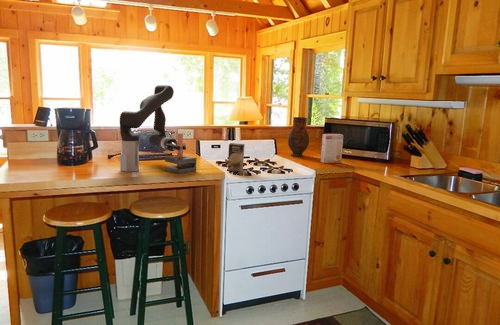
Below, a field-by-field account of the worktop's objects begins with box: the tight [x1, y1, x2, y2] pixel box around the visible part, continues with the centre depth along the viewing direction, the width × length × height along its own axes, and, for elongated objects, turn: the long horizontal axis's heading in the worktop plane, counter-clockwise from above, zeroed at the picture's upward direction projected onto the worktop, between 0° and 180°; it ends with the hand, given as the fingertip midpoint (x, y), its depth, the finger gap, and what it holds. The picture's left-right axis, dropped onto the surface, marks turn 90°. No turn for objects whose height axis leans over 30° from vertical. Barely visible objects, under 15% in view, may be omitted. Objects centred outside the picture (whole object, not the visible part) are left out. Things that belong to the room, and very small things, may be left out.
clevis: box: [164, 154, 197, 175], centre depth 218 cm, size 14×12×8 cm
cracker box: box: [320, 133, 344, 164], centre depth 269 cm, size 14×6×21 cm, turn 108°
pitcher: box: [287, 116, 310, 158], centre depth 291 cm, size 17×21×30 cm
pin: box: [176, 132, 184, 168], centre depth 216 cm, size 3×3×20 cm
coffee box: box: [227, 142, 245, 172], centre depth 228 cm, size 9×6×16 cm
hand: (182, 148), depth 214 cm, fingers closed on pin, 3 cm apart
